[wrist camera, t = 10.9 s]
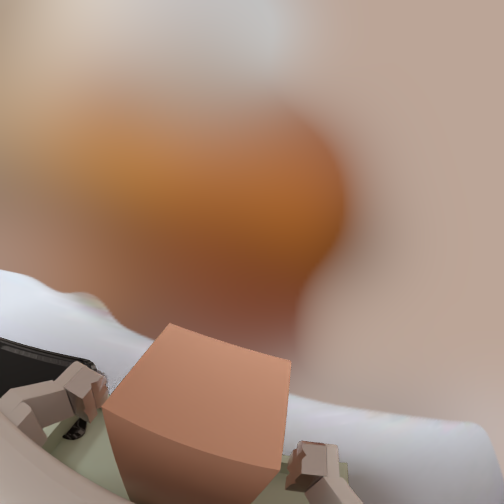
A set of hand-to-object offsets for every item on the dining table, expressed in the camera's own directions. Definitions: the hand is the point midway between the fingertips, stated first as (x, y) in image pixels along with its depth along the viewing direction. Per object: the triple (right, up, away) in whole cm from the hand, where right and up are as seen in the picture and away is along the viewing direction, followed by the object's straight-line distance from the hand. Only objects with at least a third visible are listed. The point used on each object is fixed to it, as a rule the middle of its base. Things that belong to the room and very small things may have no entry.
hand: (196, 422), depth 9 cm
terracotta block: (-2, -7, +2) cm, 7 cm away
